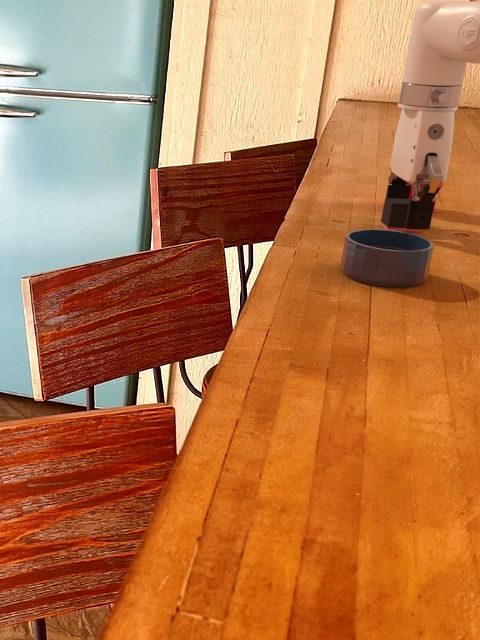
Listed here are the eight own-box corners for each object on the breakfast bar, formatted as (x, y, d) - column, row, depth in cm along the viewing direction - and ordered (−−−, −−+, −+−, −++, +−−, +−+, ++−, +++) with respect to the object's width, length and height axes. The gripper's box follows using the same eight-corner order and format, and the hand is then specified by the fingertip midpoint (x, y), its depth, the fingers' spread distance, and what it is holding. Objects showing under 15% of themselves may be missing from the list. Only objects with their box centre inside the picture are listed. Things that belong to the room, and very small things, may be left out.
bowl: (410, 265, 112) (417, 230, 110) (438, 290, 103) (446, 253, 101) (331, 262, 113) (336, 227, 111) (351, 286, 104) (358, 249, 102)
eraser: (415, 226, 130) (420, 199, 128) (422, 232, 127) (428, 204, 125) (379, 224, 130) (385, 198, 129) (386, 231, 127) (392, 203, 125)
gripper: (483, 106, 113) (454, 237, 119) (435, 90, 128) (412, 206, 135) (422, 105, 113) (397, 235, 120) (381, 89, 129) (361, 205, 136)
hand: (405, 220), depth 128 cm, fingers open, 9 cm apart
